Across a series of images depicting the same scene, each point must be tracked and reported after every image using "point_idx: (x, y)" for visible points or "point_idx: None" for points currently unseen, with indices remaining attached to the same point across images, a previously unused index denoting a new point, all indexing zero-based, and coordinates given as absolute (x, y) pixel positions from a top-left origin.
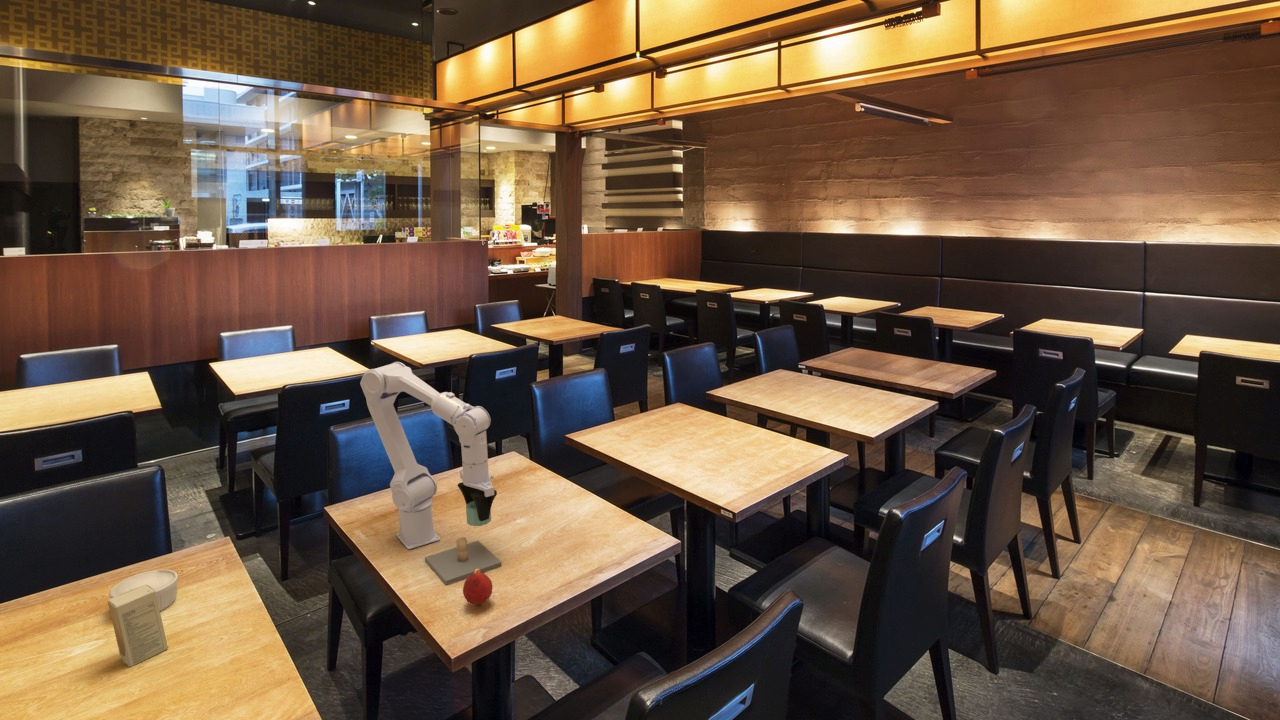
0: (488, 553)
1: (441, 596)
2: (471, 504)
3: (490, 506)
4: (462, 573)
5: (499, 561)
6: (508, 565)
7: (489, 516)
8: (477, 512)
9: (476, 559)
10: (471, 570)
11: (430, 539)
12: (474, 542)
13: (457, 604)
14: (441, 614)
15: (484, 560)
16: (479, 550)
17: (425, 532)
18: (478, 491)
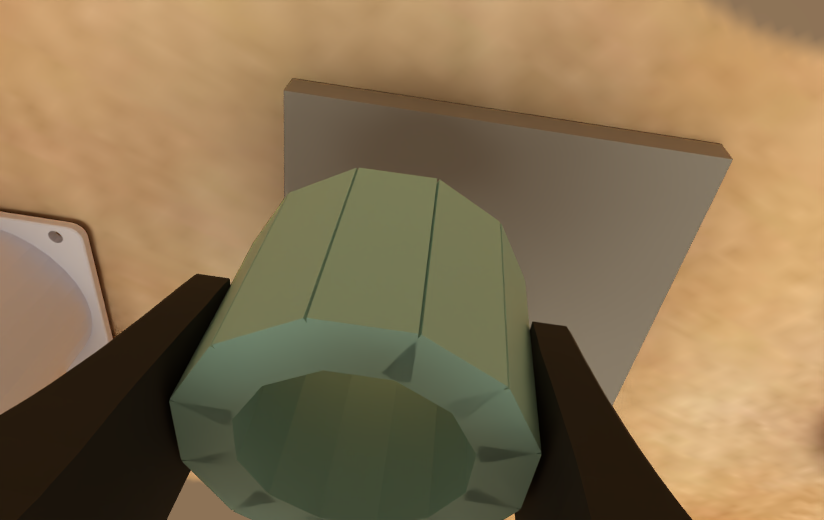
0: (535, 150)
1: (653, 464)
2: (261, 475)
3: (654, 485)
4: (608, 369)
5: (711, 164)
6: (763, 103)
7: (511, 284)
8: (520, 514)
9: (538, 247)
10: (627, 329)
11: (68, 276)
12: (296, 126)
13: (777, 461)
14: (767, 514)
15: (598, 223)
16: (441, 169)
17: (50, 344)
18: (66, 486)
